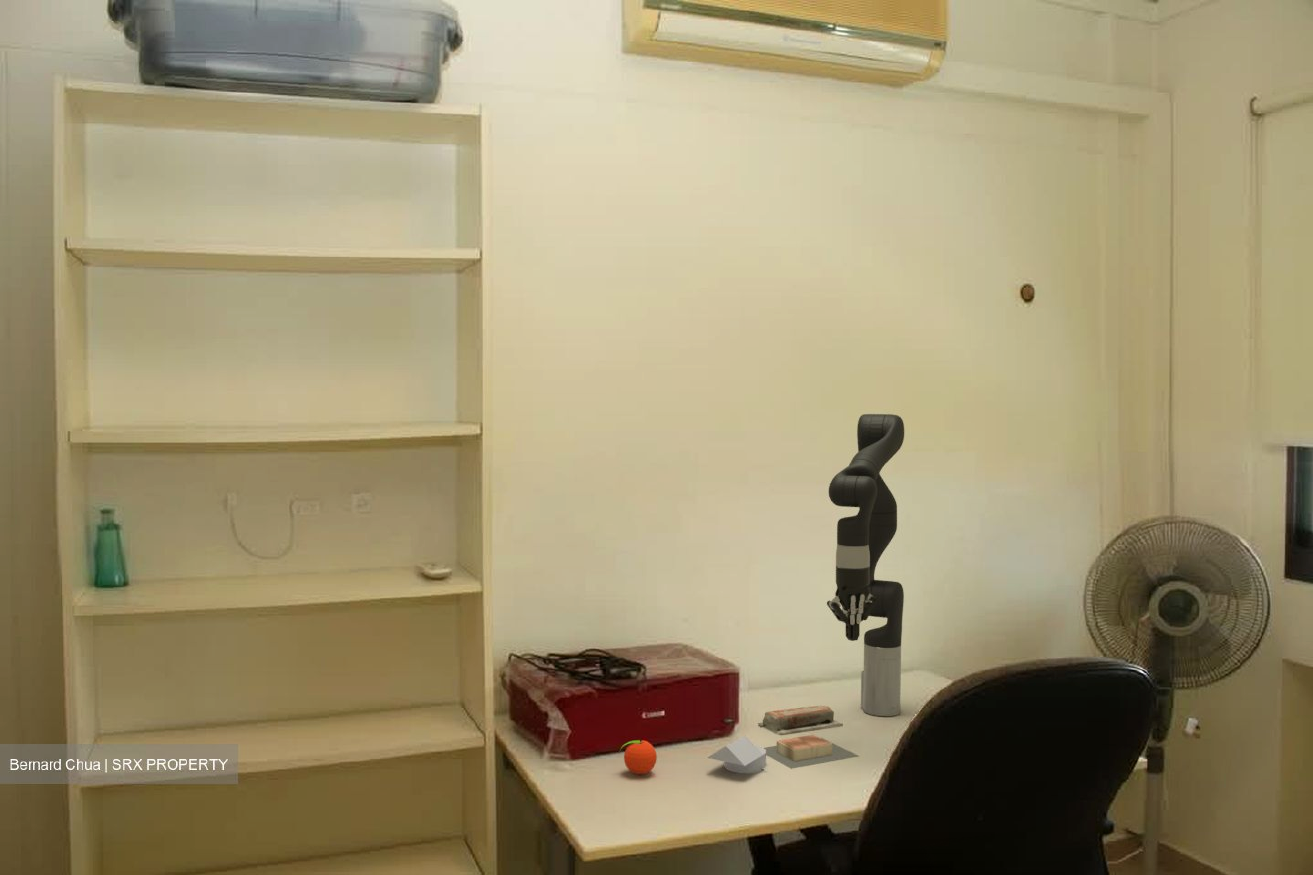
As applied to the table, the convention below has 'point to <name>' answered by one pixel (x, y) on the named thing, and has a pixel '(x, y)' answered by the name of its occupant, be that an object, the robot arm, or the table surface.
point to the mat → (837, 754)
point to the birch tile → (804, 747)
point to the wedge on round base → (742, 756)
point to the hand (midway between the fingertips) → (852, 639)
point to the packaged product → (799, 720)
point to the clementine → (640, 756)
